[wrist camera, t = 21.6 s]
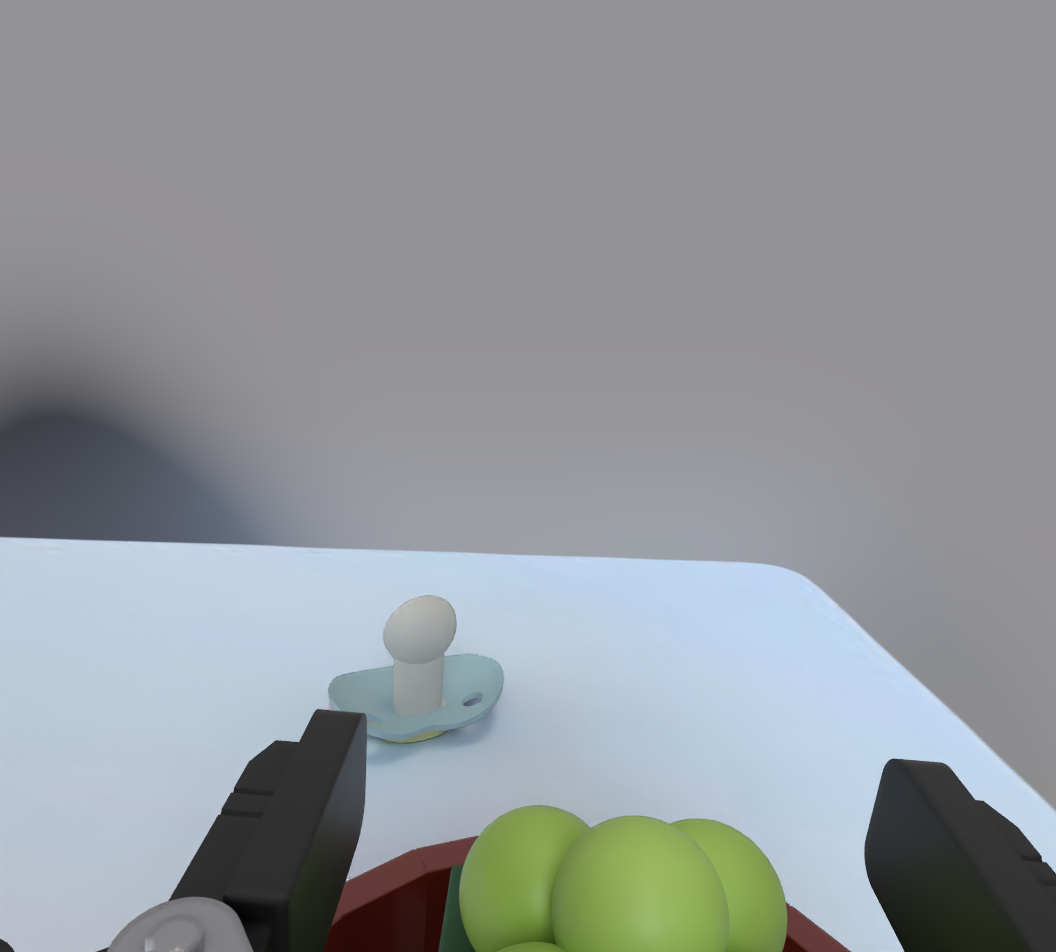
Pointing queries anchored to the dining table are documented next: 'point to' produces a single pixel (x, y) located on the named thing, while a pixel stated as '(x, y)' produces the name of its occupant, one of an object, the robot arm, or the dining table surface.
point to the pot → (420, 899)
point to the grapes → (612, 888)
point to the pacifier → (419, 678)
